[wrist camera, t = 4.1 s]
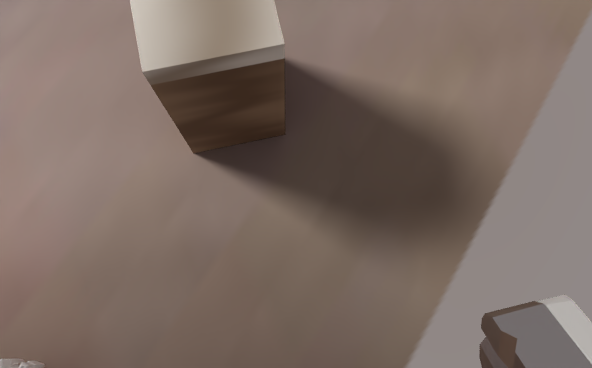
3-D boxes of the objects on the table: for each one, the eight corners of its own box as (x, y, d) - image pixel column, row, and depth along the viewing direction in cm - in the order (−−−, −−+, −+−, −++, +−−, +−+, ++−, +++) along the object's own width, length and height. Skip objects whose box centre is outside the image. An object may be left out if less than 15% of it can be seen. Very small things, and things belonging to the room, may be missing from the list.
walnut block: (193, 153, 25) (142, 71, 16) (177, 68, 26) (120, -54, 17) (285, 134, 25) (284, 44, 16) (266, 50, 26) (255, -78, 17)
